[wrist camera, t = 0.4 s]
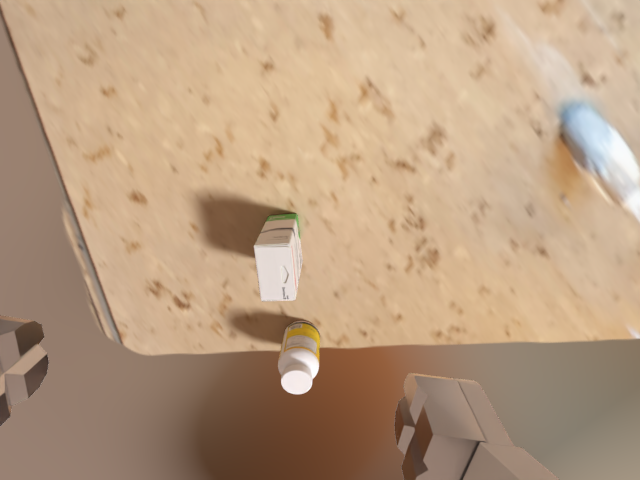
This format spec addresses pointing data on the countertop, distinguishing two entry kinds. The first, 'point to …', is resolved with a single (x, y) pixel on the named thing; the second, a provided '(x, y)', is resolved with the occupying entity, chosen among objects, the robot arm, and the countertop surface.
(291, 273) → the ink box
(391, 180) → the countertop surface
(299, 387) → the pill bottle
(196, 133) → the countertop surface
